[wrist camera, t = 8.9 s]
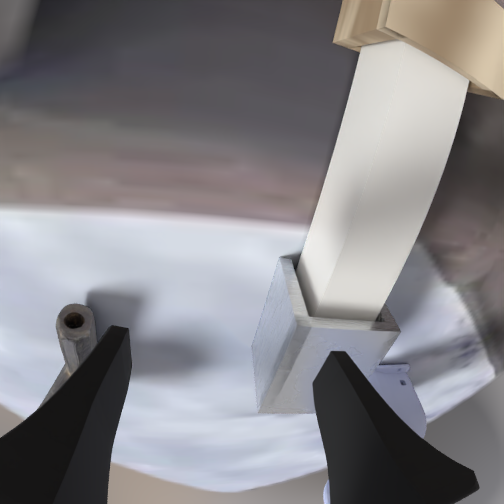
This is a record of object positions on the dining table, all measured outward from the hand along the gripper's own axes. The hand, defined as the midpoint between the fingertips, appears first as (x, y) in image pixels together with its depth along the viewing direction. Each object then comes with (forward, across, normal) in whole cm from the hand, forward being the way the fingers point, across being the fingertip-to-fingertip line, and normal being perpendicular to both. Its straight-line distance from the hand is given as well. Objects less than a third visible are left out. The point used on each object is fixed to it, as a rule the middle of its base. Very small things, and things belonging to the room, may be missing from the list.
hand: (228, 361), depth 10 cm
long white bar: (+10, -7, -6) cm, 14 cm away
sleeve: (+10, -7, +6) cm, 14 cm away
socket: (+10, -7, -15) cm, 20 cm away
